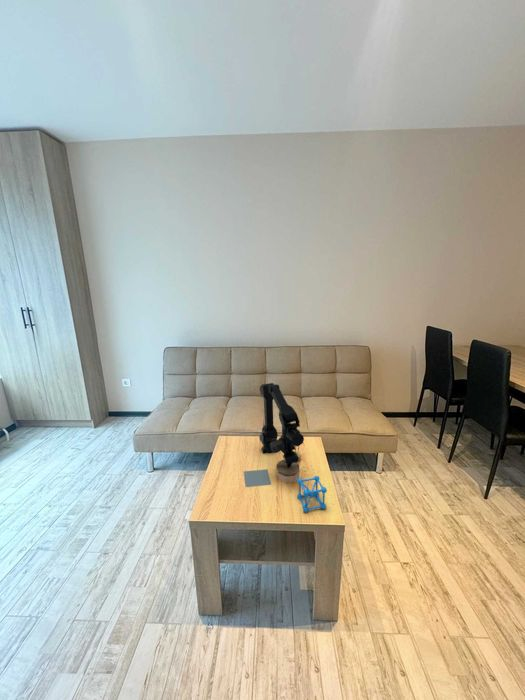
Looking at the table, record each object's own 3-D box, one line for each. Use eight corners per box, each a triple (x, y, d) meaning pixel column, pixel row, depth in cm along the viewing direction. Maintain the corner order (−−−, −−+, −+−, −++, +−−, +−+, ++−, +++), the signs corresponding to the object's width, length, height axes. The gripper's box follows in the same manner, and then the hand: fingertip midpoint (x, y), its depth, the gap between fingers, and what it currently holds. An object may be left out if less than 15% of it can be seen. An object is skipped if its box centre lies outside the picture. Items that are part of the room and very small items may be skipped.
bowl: (276, 471, 149) (276, 464, 148) (295, 470, 150) (295, 462, 150) (279, 484, 140) (279, 477, 139) (300, 482, 141) (300, 475, 140)
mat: (243, 472, 149) (243, 471, 149) (267, 470, 151) (267, 469, 151) (245, 488, 138) (245, 487, 138) (271, 485, 139) (271, 484, 139)
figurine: (290, 462, 157) (290, 441, 155) (288, 455, 163) (288, 435, 161) (305, 461, 158) (306, 440, 156) (303, 454, 164) (303, 434, 161)
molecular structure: (327, 510, 124) (327, 488, 121) (303, 514, 122) (304, 492, 119) (317, 494, 133) (318, 474, 131) (296, 497, 131) (296, 477, 129)
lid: (274, 462, 149) (274, 453, 148) (296, 460, 150) (296, 451, 149) (278, 476, 138) (278, 466, 137) (302, 473, 139) (302, 464, 138)
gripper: (268, 427, 148) (268, 456, 152) (274, 447, 130) (274, 479, 134) (290, 426, 150) (290, 454, 153) (299, 445, 132) (299, 476, 135)
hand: (287, 465), depth 144 cm, fingers closed on lid, 3 cm apart
